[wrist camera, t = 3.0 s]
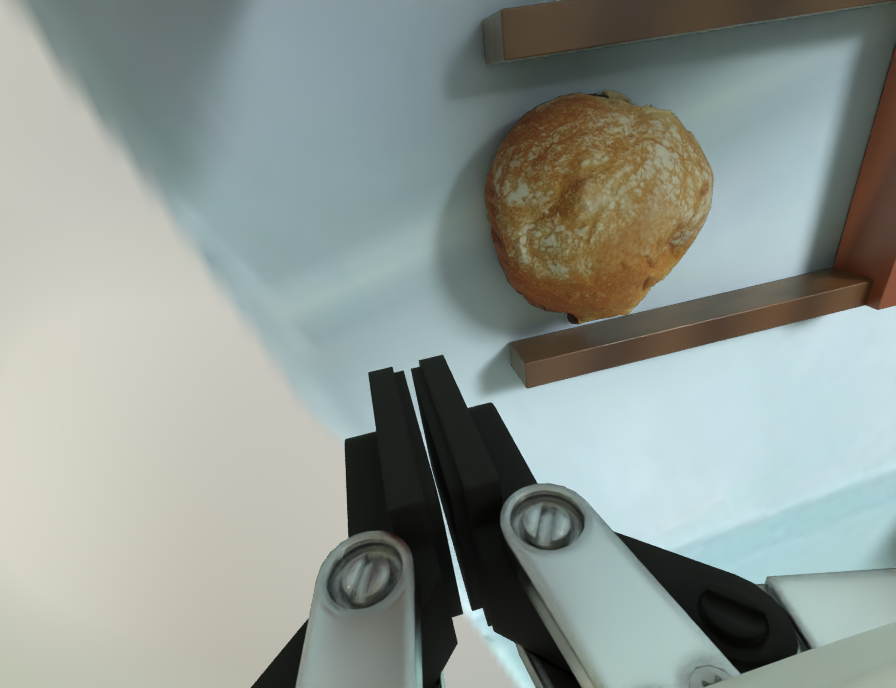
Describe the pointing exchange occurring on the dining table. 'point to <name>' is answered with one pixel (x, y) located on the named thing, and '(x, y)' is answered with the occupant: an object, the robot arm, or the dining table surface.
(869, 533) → the dining table surface
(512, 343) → the rectangular frame
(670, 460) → the dining table surface
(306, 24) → the dining table surface
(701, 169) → the bread roll
